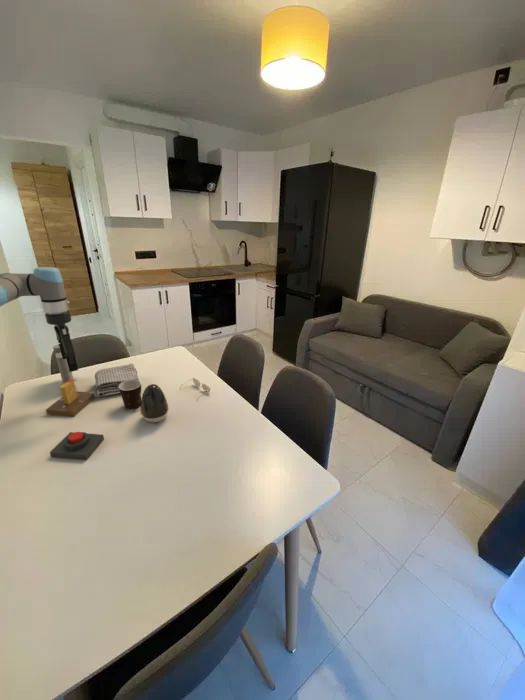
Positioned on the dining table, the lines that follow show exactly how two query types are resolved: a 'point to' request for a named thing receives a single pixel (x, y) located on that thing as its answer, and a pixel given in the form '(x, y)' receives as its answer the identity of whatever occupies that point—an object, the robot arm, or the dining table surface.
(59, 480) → the dining table surface
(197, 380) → the eyeglasses
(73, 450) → the doorbell
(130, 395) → the coffee mug
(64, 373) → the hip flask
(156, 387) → the dark egg shape
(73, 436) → the bell button
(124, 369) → the towel
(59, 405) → the plate
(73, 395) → the thumb turn
